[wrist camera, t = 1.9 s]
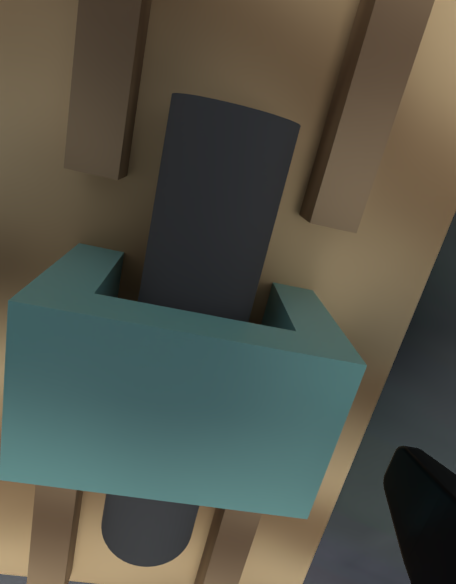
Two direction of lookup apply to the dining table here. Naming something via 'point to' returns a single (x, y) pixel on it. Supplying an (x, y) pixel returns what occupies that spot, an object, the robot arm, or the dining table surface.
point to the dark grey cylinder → (203, 261)
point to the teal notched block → (171, 393)
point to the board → (288, 225)
